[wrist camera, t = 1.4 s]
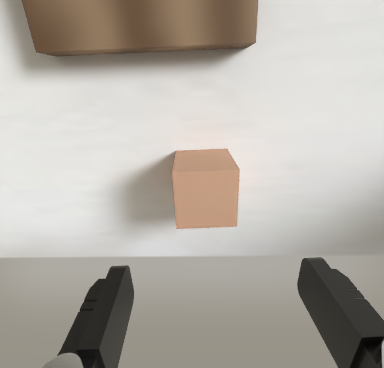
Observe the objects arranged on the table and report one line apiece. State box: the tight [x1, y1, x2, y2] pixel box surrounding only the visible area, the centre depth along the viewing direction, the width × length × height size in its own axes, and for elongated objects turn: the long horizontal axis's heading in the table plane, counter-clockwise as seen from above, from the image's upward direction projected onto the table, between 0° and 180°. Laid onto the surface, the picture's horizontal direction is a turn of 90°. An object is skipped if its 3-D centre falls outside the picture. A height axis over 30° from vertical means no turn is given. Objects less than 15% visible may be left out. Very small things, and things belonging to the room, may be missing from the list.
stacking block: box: [172, 149, 240, 229], centre depth 21 cm, size 5×5×6 cm
